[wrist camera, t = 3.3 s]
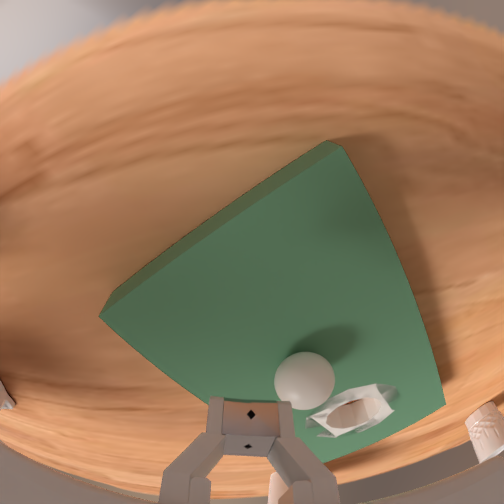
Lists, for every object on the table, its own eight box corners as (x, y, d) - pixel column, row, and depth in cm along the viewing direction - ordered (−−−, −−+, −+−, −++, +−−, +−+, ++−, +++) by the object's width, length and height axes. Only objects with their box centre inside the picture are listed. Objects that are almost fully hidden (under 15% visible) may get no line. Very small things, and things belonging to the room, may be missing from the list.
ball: (290, 383, 21) (296, 426, 17) (260, 356, 19) (264, 403, 16) (336, 360, 20) (350, 403, 16) (312, 330, 19) (324, 376, 15)
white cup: (487, 413, 37) (505, 449, 28) (457, 430, 38) (474, 469, 29) (500, 392, 33) (522, 431, 24) (468, 411, 34) (489, 454, 25)
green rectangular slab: (312, 447, 33) (315, 465, 30) (112, 291, 20) (98, 316, 18) (436, 386, 28) (445, 404, 26) (326, 140, 16) (342, 146, 13)
